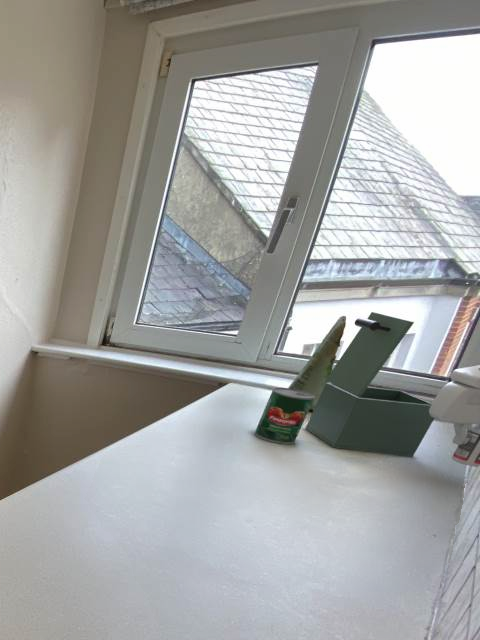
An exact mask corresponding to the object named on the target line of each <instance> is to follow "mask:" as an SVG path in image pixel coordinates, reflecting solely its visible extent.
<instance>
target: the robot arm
mask: <svg viewBox="0 0 480 640" xmlns="http://www.w3.org/2000/svg"><path fill="white" fill-rule="evenodd" d="M449 378H450V379H451V380H453V381H450V382H448V383H446V384H445V385H444V386H443V387H441V389H440V390H439V392H438V393H437V394H436V396H435V397H434V399H433V402H431V403H432V405H431V407H430V409H429V414H430V416H431V417H432V418H434V420H437V421H439V422H443V423H454V424H453V430H454V433H455V435H454V437H453V438H452V444H455V445H457V446H458V445H468V442H469V441H470V440H471V437H468V436H467V432H466V431H467V429H470V428H471V427H472V425H473V424H475V425H480V364H477V365H473V366H466V367H460V368H455V369H454V370H452V372H451V374H450V376H449Z"/></svg>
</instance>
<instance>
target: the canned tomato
mask: <svg viewBox="0 0 480 640" xmlns="http://www.w3.org/2000/svg"><path fill="white" fill-rule="evenodd" d="M314 399H315V396H314V395H313V394H310V393H308V392H304V391H300V390H295V389H289V388H288V387H274V388H273V389H272V390H271V393H270V394H269V398H268V400H267V402H266V405H265V407H264V409H263V412H262V414H261V417H260V418H259V422H258V424H257V426H256V428H255V431H254V433H253V434H254V436H256V437H258V438H259V439H261V440H265V441H267V442H271V443H276V444H283V445H291V444H294V443H296V439H297V437H298V436H299V433H300V431H301V429H302V427H303V425H304V422H305V420H306V419H307V416H308V414H309V412H310V407H311V405H312V403H313V401H314Z"/></svg>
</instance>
